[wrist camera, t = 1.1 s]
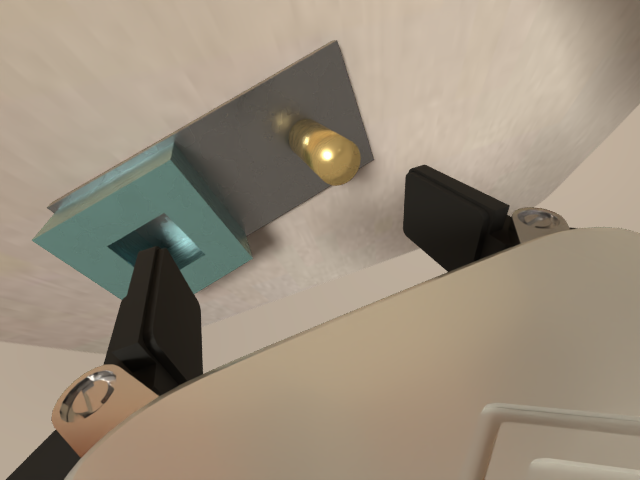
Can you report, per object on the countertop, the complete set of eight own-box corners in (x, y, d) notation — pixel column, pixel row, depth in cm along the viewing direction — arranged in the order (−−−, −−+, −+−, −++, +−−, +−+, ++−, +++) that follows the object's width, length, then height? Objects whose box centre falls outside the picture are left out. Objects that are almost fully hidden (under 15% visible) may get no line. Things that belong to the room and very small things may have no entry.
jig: (332, 40, 25) (364, 38, 20) (369, 157, 33) (399, 174, 28) (51, 202, 24) (17, 239, 19) (156, 284, 31) (151, 325, 27)
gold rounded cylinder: (314, 111, 27) (352, 129, 21) (328, 145, 29) (365, 170, 23) (282, 130, 27) (309, 154, 20) (298, 163, 29) (328, 193, 23)
